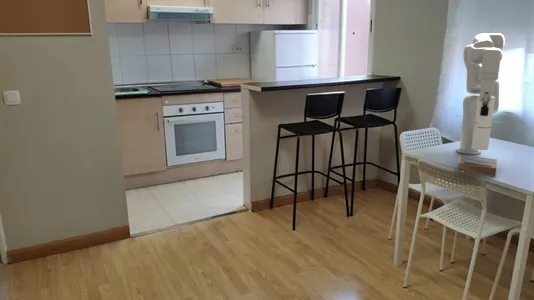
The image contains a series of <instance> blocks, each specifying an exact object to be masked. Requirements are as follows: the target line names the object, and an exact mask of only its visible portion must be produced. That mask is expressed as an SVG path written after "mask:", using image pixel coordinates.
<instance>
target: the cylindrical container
mask: <svg viewBox="0 0 534 300" xmlns="http://www.w3.org/2000/svg"><path fill="white" fill-rule="evenodd" d="M477 96H478V100H477V108H476V116H475V125H474V133H473V141H472V148H473V149H476V150H481V151H488V150H489V147H490V146H489V144H490V138H491V130H492V124H493V122H492V121H493V115H494V113H493V108H494V101H495V97H493V96H492V98H491V101H490V102H489V105H488V107H489V110H488V116H481V115H480V112H481V107H482V101H483V99H482V100H481V101H479V98H480V95H477ZM488 99H489V98H487V101H488Z"/></svg>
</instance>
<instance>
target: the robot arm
mask: <svg viewBox="0 0 534 300" xmlns="http://www.w3.org/2000/svg"><path fill="white" fill-rule="evenodd" d="M504 45H505V37H504V35H503V34H502V33H497V32H496V33H495V32H494V33H493V32H492V33H479V34H477V35H476V36H474V38H473V40H472V44H469V45H466V46H465V47H464V49H463V62H464V65H465V67H466V92H467V93H468V94H471V95H468V96H465V97H464V98H463V100H462V121H461V122H462V124H461V133H460V142H459V146H458V147H456V149H455V150H456V152H458V153H461V154H465V155H480V154H481V153H482V150H476V149H473V148H472V141H473V133H474V125H475V116H476V108H477V100H478V96H480V98H479V101H481V100H482V99H483V101H482V107H481V112H480V115H481V116H488V110H489V107H488V105H489V102H490V101H491V98H492V96H493V97H495V101H494V108H493V114H495V113H497V112H498V110H499V106H500V104H499V103H500V83H499V80H498V79H499V73H500V67H501V66H500V64H501V61H502V59H503V49H504ZM487 98H489V99H488V101H487Z"/></svg>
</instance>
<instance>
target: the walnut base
mask: <svg viewBox="0 0 534 300" xmlns="http://www.w3.org/2000/svg"><path fill="white" fill-rule="evenodd" d="M497 162H498V159H497V158H488V157H479V156H472V155H471V156H470V155H469V156H468V155H461V156H460V159H459V162H458V167H457V168H458V169H457V171H458V170H459V171H464V172H468V173H467V174H472V173H473V174H474V175H480V176H481V175H482V176H488V177H496V176H497V175H496V174H497ZM464 172H463V173H464ZM473 174H472V175H473Z"/></svg>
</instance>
